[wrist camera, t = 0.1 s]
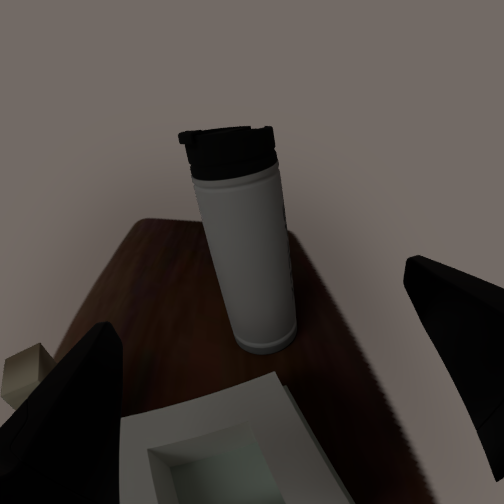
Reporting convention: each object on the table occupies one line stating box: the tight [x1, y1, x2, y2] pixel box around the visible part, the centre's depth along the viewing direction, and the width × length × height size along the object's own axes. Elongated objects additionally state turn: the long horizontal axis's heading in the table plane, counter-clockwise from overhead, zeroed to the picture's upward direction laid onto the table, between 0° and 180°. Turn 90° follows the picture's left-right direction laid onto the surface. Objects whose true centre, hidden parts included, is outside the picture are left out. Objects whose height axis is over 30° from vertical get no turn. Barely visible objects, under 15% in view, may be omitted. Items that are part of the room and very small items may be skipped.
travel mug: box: [178, 126, 297, 355], centre depth 24 cm, size 6×7×20 cm
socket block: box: [119, 371, 355, 504], centre depth 14 cm, size 15×15×5 cm
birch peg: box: [1, 343, 57, 410], centre depth 18 cm, size 4×4×10 cm
